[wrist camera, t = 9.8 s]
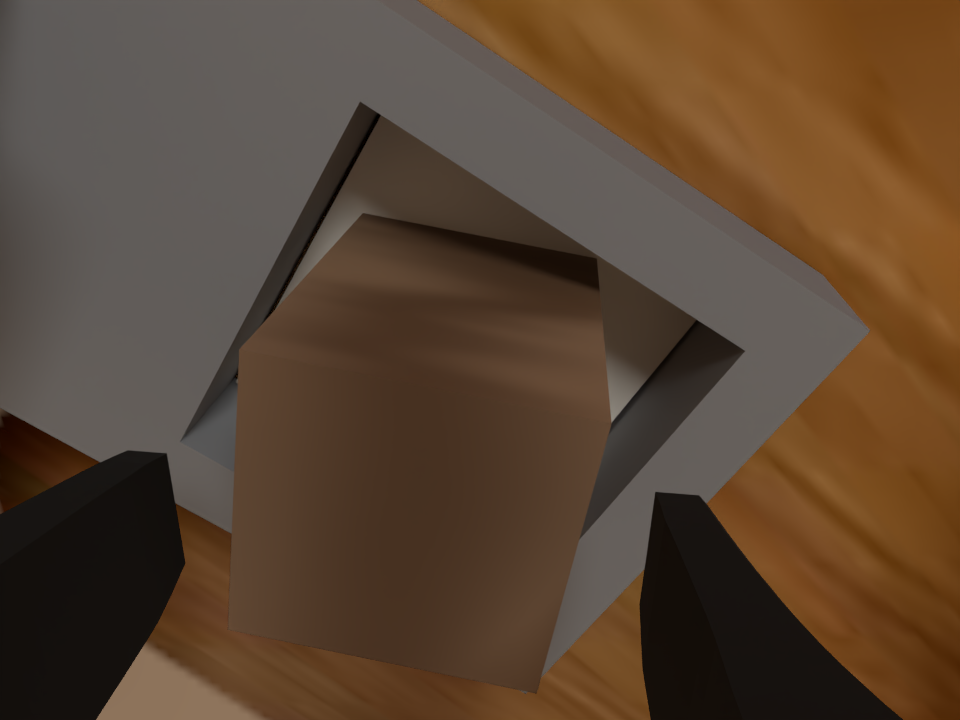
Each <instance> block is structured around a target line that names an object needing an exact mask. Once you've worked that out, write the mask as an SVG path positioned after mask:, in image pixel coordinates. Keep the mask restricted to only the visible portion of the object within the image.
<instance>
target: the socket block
mask: <svg viewBox="0 0 960 720" xmlns="http://www.w3.org/2000/svg"><path fill="white" fill-rule="evenodd" d="M378 113H379V114H380V115H381V116H380V118H379V120H378V122H377V124H376V125H375V127H374V129H373V131H372V133H371V135H370V136H369V138H368V140H367V142H366V144H365V146H364V148H363V149H362V151H361V153H360V155H359V157H358V159H357V160H356V162H355V164H354V166H353V168H352V170H351V171H350V173H349V175H348V177H347V179H346V181H345V182H344V184H343V186H342V188H341V190H340V192H339V193H338V195H337V197H336V199H335V201H334V203H333V204H332V206H331V208H330V210H329V212H328V214H327V215H326V217H325V219H324V221H323V223H322V225H321V226H320V228H319V230H318V232H317V234H316V236H315V237H314V239H313V241H312V243H311V245H310V247H309V248H308V250H307V252H306V254H305V256H304V258H303V259H302V261H301V263H300V265H299V267H298V269H297V270H296V272H295V274H294V276H293V278H292V280H291V281H290V283H289V285H288V287H287V289H286V291H285V292H284V294H283V296H282V298H281V300H280V302H279V303H278V305H277V307H278V306H279V305H280V304H281V303H282V302H283V301H284V299H285V298H286V297H287V296H288V295H289V294H290V293H291V292H292V291H293V290H294V288H295V287H296V286H297V285H298V284H299V283H300V282H301V281H302V280H303V279H304V277H305V276H306V275H307V274H308V273H309V272H310V271H311V270H312V269H313V267H314V266H315V265H316V264H317V263H318V262H319V261H320V260H321V259H322V258H323V256H324V255H325V254H326V253H327V252H328V251H329V250H330V249H331V248H332V247H333V245H334V244H335V243H336V242H337V241H338V240H339V239H340V238H341V237H342V235H343V234H344V233H345V232H346V231H347V230H348V229H349V228H350V227H351V226H352V224H353V223H354V222H355V221H356V220H357V219H358V218H359V217H360V216H361V215H362V213H366V214H371V215H376V216H381V217H386V218H391V219H397V220H402V221H407V222H412V223H417V224H422V225H427V226H433V227H438V228H443V229H448V230H453V231H458V232H463V233H469V234H474V235H479V236H484V237H489V238H494V239H499V240H505V241H510V242H515V243H520V244H525V245H530V246H535V247H541V248H546V249H551V250H556V251H561V252H566V253H571V254H577V255H582V256H587V257H592V258H597V265H598V277H599V288H600V299H601V310H602V322H603V333H604V344H605V356H606V367H607V378H608V389H609V401H610V412H611V423H612V424H611V427H610V431H609V434H608V438H607V442H606V445H605V449H604V452H603V456H602V460H601V463H600V467H599V470H598V474H597V478H596V481H595V485H594V488H593V492H592V496H591V499H590V503H589V507H588V510H587V514H586V517H585V521H584V525H583V528H582V532H581V535H580V539H579V543H578V546H577V550H576V553H575V557H574V561H573V564H572V568H571V571H570V575H569V579H568V582H567V586H566V589H565V593H564V597H563V600H562V604H561V607H560V611H559V615H558V618H557V622H556V625H555V629H554V633H553V636H552V640H551V643H550V647H549V651H548V654H547V658H546V661H545V665H544V669H543V672H542V676H543V675H544V674H545V673H546V672H547V671H548V670H549V669H550V668H551V667H552V666H553V664H554V663H555V662H556V661H557V660H558V659H559V658H560V657H561V656H562V655H563V654H564V653H565V652H566V651H567V650H568V649H569V648H570V647H571V646H572V644H573V643H574V642H575V641H576V640H577V639H578V638H579V637H580V636H581V635H582V634H583V633H584V632H585V631H586V630H587V629H588V628H589V627H590V626H591V624H592V623H593V622H594V621H595V620H596V619H597V618H598V617H599V616H600V615H601V614H602V613H603V612H604V611H605V610H606V609H607V608H608V607H609V606H610V604H611V603H612V602H613V601H614V600H615V599H616V598H617V597H618V596H619V595H620V594H621V593H622V592H623V591H624V590H625V589H626V588H627V587H628V585H629V584H630V583H631V582H632V581H633V580H634V579H635V578H636V577H637V576H638V575H639V574H640V573H641V572H642V571H643V570H644V569H645V563H646V555H647V548H648V541H649V534H650V527H651V519H652V512H653V505H654V498H655V492H664V493H677V494H689V495H699V496H700V497H701V498H702V499H703V500H704V502H705V503H707V502H708V501H709V500H710V499H711V498H712V497H713V496H714V495H715V494H716V493H717V492H718V491H719V490H720V489H721V488H722V487H723V485H724V484H725V483H726V482H727V481H728V480H729V479H730V478H731V477H732V476H733V475H734V474H735V473H736V472H737V471H738V470H739V469H740V468H741V467H742V465H743V464H744V463H745V462H746V461H747V460H748V459H749V458H750V457H751V456H752V455H753V454H754V453H755V452H756V451H757V450H758V449H759V448H760V446H761V445H762V444H763V443H764V442H765V441H766V440H767V439H768V438H769V437H770V436H771V435H772V434H773V433H774V432H775V431H776V430H777V429H778V428H779V426H780V425H781V424H782V423H783V422H784V421H785V420H786V419H787V418H788V417H789V416H790V415H791V414H792V413H793V412H794V411H795V410H796V409H797V408H798V406H799V405H800V404H801V403H802V402H803V401H804V400H805V399H806V398H807V397H808V396H809V395H810V394H811V393H812V392H813V391H814V390H815V389H816V388H817V386H818V385H819V384H820V383H821V382H822V381H823V380H824V379H825V378H826V377H827V376H828V375H829V374H830V373H831V372H832V371H833V370H834V369H835V368H836V366H837V365H838V364H839V363H840V362H841V361H842V360H843V359H844V358H845V357H846V356H847V355H848V354H849V353H850V352H851V351H852V350H853V349H854V348H855V346H856V345H857V344H858V343H859V342H860V341H861V340H862V339H863V338H864V337H865V336H866V335H867V334H868V333H869V332H870V330H869V329H868V328H867V326H866V325H865V324H864V323H863V322H862V321H861V319H860V318H859V317H858V316H857V315H856V314H855V312H854V311H853V310H852V309H851V308H850V307H849V305H848V304H847V303H846V302H845V301H844V300H843V298H842V297H841V296H840V295H839V294H838V293H837V291H836V290H835V289H834V288H833V287H832V285H831V284H830V283H829V282H828V281H827V280H826V278H825V277H824V276H823V275H822V274H820V273H819V272H817V271H816V270H815V269H813V268H812V267H810V266H809V265H807V264H806V263H804V262H803V261H801V260H800V259H798V258H797V257H795V256H794V255H792V254H791V253H789V252H788V251H786V250H785V249H783V248H782V247H781V246H779V245H778V244H776V243H775V242H773V241H772V240H770V239H769V238H767V237H766V236H764V235H763V234H761V233H760V232H758V231H757V230H755V229H754V228H752V227H751V226H749V225H748V224H747V223H745V222H744V221H742V220H741V219H739V218H738V217H736V216H735V215H733V214H732V213H730V212H729V211H727V210H726V209H724V208H723V207H721V206H720V205H718V204H717V203H715V202H714V201H713V200H711V199H710V198H708V197H707V196H705V195H704V194H702V193H701V192H699V191H698V190H696V189H695V188H693V187H692V186H690V185H689V184H687V183H686V182H684V181H683V180H681V179H680V178H679V177H677V176H676V175H674V174H673V173H671V172H670V171H668V170H667V169H665V168H664V167H662V166H661V165H659V164H658V163H656V162H655V161H653V160H652V159H650V158H649V157H647V156H646V155H645V154H643V153H642V152H640V151H639V150H637V149H636V148H634V147H633V146H631V145H630V144H628V143H627V142H625V141H624V140H622V139H621V138H619V137H618V136H616V135H615V134H613V133H612V132H611V131H609V130H608V129H606V128H605V127H603V126H602V125H600V124H599V123H597V122H596V121H594V120H593V119H591V118H590V117H588V116H587V115H585V114H584V113H582V112H581V111H579V110H578V109H577V108H575V107H574V106H572V105H571V104H569V103H568V102H566V101H565V100H563V99H562V98H560V97H559V96H557V95H556V94H554V93H553V92H551V91H550V90H548V89H547V88H545V87H544V86H543V85H541V84H540V83H538V82H537V81H535V80H534V79H532V78H531V77H529V76H528V75H526V74H525V73H523V72H522V71H520V70H519V69H517V68H516V67H514V66H513V65H511V64H510V63H509V62H507V61H506V60H504V59H503V58H501V57H500V56H498V55H497V54H495V53H494V52H492V51H491V50H489V49H488V48H486V47H485V46H483V45H482V44H480V43H479V42H477V41H476V40H475V39H473V38H472V37H470V36H469V35H467V34H466V33H464V32H463V31H461V30H460V29H458V28H457V27H455V26H454V25H452V24H451V23H449V22H448V21H446V20H445V19H443V18H442V17H441V16H439V15H438V14H436V13H435V12H433V11H432V10H430V9H429V8H427V7H426V6H424V5H423V4H421V3H420V2H418V1H417V0H0V408H1V409H3V410H5V411H7V412H9V413H11V414H12V415H14V416H16V417H18V418H20V419H22V420H23V421H25V422H27V423H29V424H31V425H33V426H35V427H36V428H38V429H40V430H42V431H44V432H46V433H47V434H49V435H51V436H53V437H55V438H57V439H58V440H60V441H62V442H64V443H66V444H68V445H69V446H71V447H73V448H75V449H77V450H79V451H80V452H82V453H84V454H86V455H88V456H90V457H92V458H93V459H95V460H97V461H99V462H102V461H105V460H107V459H109V458H111V457H113V456H115V455H118V454H120V453H123V452H125V451H127V450H131V451H144V452H157V453H167V457H168V463H169V469H170V475H171V481H172V487H173V493H174V499H175V503H176V504H178V505H180V506H182V507H183V508H185V509H187V510H189V511H191V512H193V513H194V514H196V515H198V516H200V517H202V518H204V519H205V520H207V521H209V522H211V523H213V524H215V525H217V526H218V527H220V528H222V529H224V530H226V531H228V532H229V533H231V534H232V513H233V489H234V464H235V440H236V415H237V391H238V379H236V378H235V376H236V374H237V373H238V366H239V349H240V348H241V347H242V346H243V345H244V344H245V343H246V341H247V340H248V339H249V338H250V337H251V336H252V335H253V334H254V333H255V331H256V330H257V329H258V328H259V327H260V326H261V325H262V324H263V323H264V322H265V320H266V319H267V317H268V316H269V314H270V312H271V310H272V308H273V306H274V305H275V303H276V301H277V299H278V297H279V295H280V293H281V292H282V290H283V288H284V286H285V284H286V282H287V281H288V279H289V277H290V275H291V273H292V271H293V270H294V268H295V266H296V264H297V262H298V260H299V258H300V257H301V255H302V253H303V251H304V249H305V247H306V246H307V244H308V242H309V240H310V238H311V236H312V235H313V233H314V231H315V229H316V227H317V225H318V223H319V222H320V220H321V218H322V216H323V214H324V212H325V211H326V209H327V207H328V205H329V203H330V201H331V200H332V198H333V196H334V194H335V192H336V190H337V189H338V187H339V185H340V183H341V181H342V179H343V177H344V176H345V174H346V172H347V170H348V168H349V166H350V165H351V163H352V161H353V159H354V157H355V155H356V154H357V152H358V150H359V148H360V146H361V144H362V142H363V141H364V139H365V137H366V135H367V133H368V131H369V130H370V128H371V126H372V124H373V122H374V120H375V119H376V117H377V115H378ZM277 307H276V308H277ZM542 676H541V677H542ZM520 691H522V690H520ZM522 692H524V693H525V694H526V693H527V691H522Z"/></svg>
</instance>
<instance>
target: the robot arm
mask: <svg viewBox="0 0 960 720" xmlns="http://www.w3.org/2000/svg"><path fill="white" fill-rule="evenodd" d="M184 565H185V558H184V553H183V547H182V541H181V535H180V529H179V523H178V517H177V511H176V505H175V499H174V493H173V487H172V481H171V475H170V469H169V463H168V457H167V453H157V452H144V451H131V450H127V451H125V452H123V453H120V454H118V455H115V456H113V457H111V458H109V459H107V460H105V461H102V462H100V463H98V464H96V465H94V466H92V467H90V468H88V469H86V470H84V471H82V472H80V473H79V474H77V475H75V476H73V477H71V478H69V479H67V480H65V481H63V482H61V483H59V484H57V485H56V486H54V487H52V488H50V489H48V490H46V491H44V492H42V493H40V494H38V495H36V496H34V497H33V498H31V499H29V500H27V501H25V502H23V503H21V504H19V505H17V506H15V507H13V508H11V509H10V510H8V511H6V512H4V513H2V514H0V720H96V719H97V717H98V716H99V714H100V713H101V711H102V709H103V708H104V706H105V705H106V703H107V702H108V700H109V699H110V697H111V695H112V694H113V692H114V691H115V689H116V688H117V686H118V685H119V683H120V682H121V680H122V679H123V677H124V675H125V674H126V672H127V671H128V669H129V668H130V666H131V665H132V663H133V661H134V660H135V658H136V657H137V655H138V654H139V652H140V650H141V649H142V647H143V646H144V644H145V642H146V641H147V639H148V638H149V636H150V634H151V633H152V631H153V630H154V628H155V626H156V625H157V623H158V621H159V619H160V617H161V615H162V613H163V611H164V609H165V607H166V605H167V603H168V601H169V598H170V596H171V594H172V592H173V590H174V587H175V585H176V583H177V581H178V578H179V576H180V574H181V572H182V569H183V567H184ZM640 623H641V645H642V664H643V674H644V680H645V687H646V693H647V699H648V705H649V711H650V717H651V720H903V719H902V718H900V717H899V716H898V715H897V714H896V713H895V712H893V711H892V710H891V709H890V708H889V707H887V706H886V705H885V704H884V703H883V702H882V701H881V700H879V699H878V698H877V697H876V696H875V695H874V694H873V693H872V692H871V691H870V690H869V689H867V688H866V687H865V686H864V685H863V684H862V683H861V682H860V681H859V680H858V679H857V678H855V677H854V676H853V675H852V674H851V673H850V672H849V671H848V670H847V669H846V668H845V667H843V666H842V665H841V664H840V663H839V662H838V661H837V660H836V659H835V658H834V657H833V656H832V655H831V654H830V653H829V652H828V651H827V650H826V649H825V648H824V647H823V646H822V645H821V644H820V643H819V642H818V641H817V640H816V638H815V637H814V636H813V635H812V634H811V633H810V632H809V631H808V630H807V629H806V628H805V627H804V626H803V625H802V624H801V622H800V621H799V620H798V619H797V618H796V617H795V616H794V615H793V613H792V612H791V611H790V610H789V609H788V608H787V607H786V605H785V604H784V603H783V602H782V601H781V600H780V598H779V597H778V596H777V595H776V594H775V592H774V591H773V590H772V589H771V588H770V586H769V585H768V584H767V583H766V582H765V580H764V579H763V578H762V577H761V576H760V574H759V573H758V572H757V571H756V569H755V568H754V567H753V566H752V564H751V563H750V562H749V561H748V559H747V558H746V557H745V555H744V554H743V553H742V551H741V550H740V549H739V547H738V546H737V545H736V544H735V542H734V541H733V540H732V538H731V537H730V536H729V534H728V533H727V531H726V530H725V529H724V527H723V526H722V525H721V523H720V522H719V521H718V519H717V518H716V516H715V515H714V514H713V512H712V511H711V509H710V508H709V507H708V505H707V504H706V503H705V502H704V500H703V499H702V498H701V497H700V496H699V495H689V494H677V493H664V492H655V498H654V505H653V512H652V519H651V527H650V534H649V541H648V548H647V555H646V563H645V570H644V577H643V584H642V591H641V599H640Z"/></svg>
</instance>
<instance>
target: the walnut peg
mask: <svg viewBox="0 0 960 720" xmlns="http://www.w3.org/2000/svg"><path fill="white" fill-rule="evenodd" d="M611 424H612V423H611V412H610V401H609V389H608V378H607V367H606V356H605V344H604V333H603V322H602V310H601V299H600V288H599V277H598V265H597V258H592V257H587V256H582V255H577V254H571V253H566V252H561V251H556V250H551V249H546V248H541V247H535V246H530V245H525V244H520V243H515V242H510V241H505V240H499V239H494V238H489V237H484V236H479V235H474V234H469V233H463V232H458V231H453V230H448V229H443V228H438V227H433V226H427V225H422V224H417V223H412V222H407V221H402V220H397V219H391V218H386V217H381V216H376V215H371V214H366V213H362V215H361V216H360V217H359V218H358V219H357V220H356V221H355V222H354V223H353V224H352V226H351V227H350V228H349V229H348V230H347V231H346V232H345V233H344V234H343V235H342V237H341V238H340V239H339V240H338V241H337V242H336V243H335V244H334V245H333V247H332V248H331V249H330V250H329V251H328V252H327V253H326V254H325V255H324V256H323V258H322V259H321V260H320V261H319V262H318V263H317V264H316V265H315V266H314V267H313V269H312V270H311V271H310V272H309V273H308V274H307V275H306V276H305V277H304V279H303V280H302V281H301V282H300V283H299V284H298V285H297V286H296V287H295V288H294V290H293V291H292V292H291V293H290V294H289V295H288V296H287V297H286V298H285V299H284V301H283V302H282V303H281V304H280V305H279V306H278V307H277V308H276V309H275V311H274V312H273V313H272V314H271V315H270V316H269V317H268V318H267V319H266V320H265V322H264V323H263V324H262V325H261V326H260V327H259V328H258V329H257V330H256V331H255V333H254V334H253V335H252V336H251V337H250V338H249V339H248V340H247V341H246V343H245V344H244V345H243V346H242V347H241V348H240V349H239V366H238V391H237V415H236V440H235V464H234V489H233V513H232V538H231V562H230V587H229V611H228V630H231V631H236V632H241V633H246V634H251V635H256V636H260V637H265V638H270V639H275V640H280V641H285V642H290V643H294V644H299V645H304V646H309V647H314V648H319V649H323V650H328V651H333V652H338V653H343V654H348V655H352V656H357V657H362V658H367V659H372V660H377V661H382V662H386V663H391V664H396V665H401V666H406V667H411V668H415V669H420V670H425V671H430V672H435V673H440V674H445V675H449V676H454V677H459V678H464V679H469V680H474V681H478V682H483V683H488V684H493V685H498V686H503V687H508V688H512V689H517V690H522V691H527V692H532V693H537V690H538V687H539V683H540V679H541V676H542V672H543V669H544V665H545V661H546V658H547V654H548V651H549V647H550V643H551V640H552V636H553V633H554V629H555V625H556V622H557V618H558V615H559V611H560V607H561V604H562V600H563V597H564V593H565V589H566V586H567V582H568V579H569V575H570V571H571V568H572V564H573V561H574V557H575V553H576V550H577V546H578V543H579V539H580V535H581V532H582V528H583V525H584V521H585V517H586V514H587V510H588V507H589V503H590V499H591V496H592V492H593V488H594V485H595V481H596V478H597V474H598V470H599V467H600V463H601V460H602V456H603V452H604V449H605V445H606V442H607V438H608V434H609V431H610V427H611Z"/></svg>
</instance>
